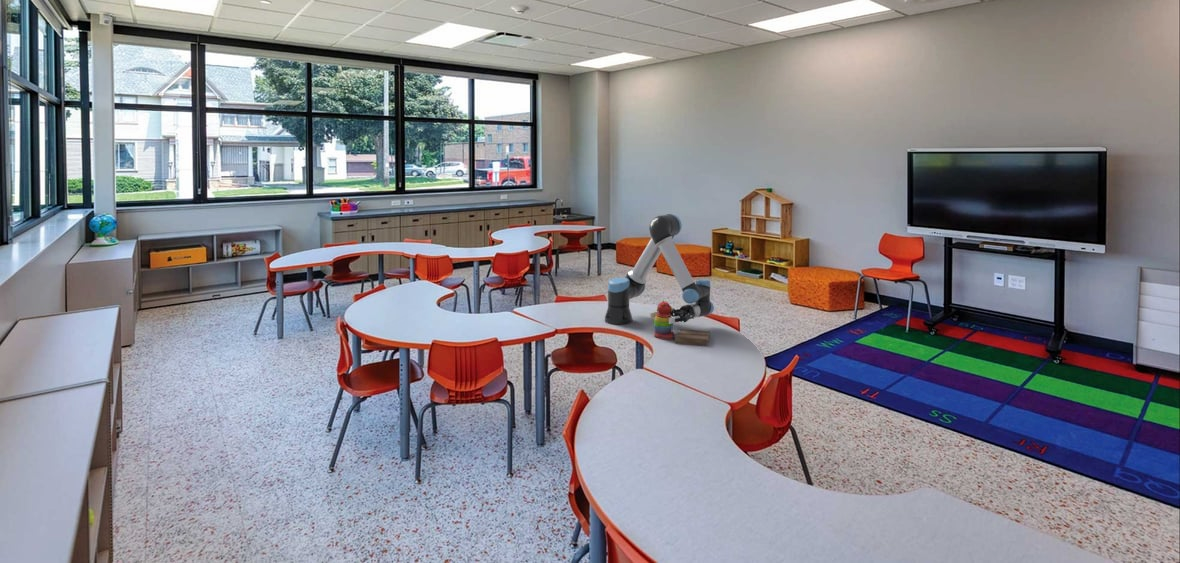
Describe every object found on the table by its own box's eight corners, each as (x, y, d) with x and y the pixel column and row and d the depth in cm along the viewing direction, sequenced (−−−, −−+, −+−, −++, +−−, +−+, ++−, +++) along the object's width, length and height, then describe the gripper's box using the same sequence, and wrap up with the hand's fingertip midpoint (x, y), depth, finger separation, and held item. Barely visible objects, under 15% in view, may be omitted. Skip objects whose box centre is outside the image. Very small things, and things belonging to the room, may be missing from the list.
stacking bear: (673, 340, 301) (674, 305, 297) (652, 338, 303) (653, 304, 299) (674, 333, 311) (675, 300, 308) (654, 332, 313) (655, 299, 310)
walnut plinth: (680, 334, 310) (680, 329, 309) (710, 337, 305) (710, 331, 305) (675, 343, 296) (675, 337, 295) (706, 345, 291) (707, 339, 291)
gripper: (707, 323, 307) (677, 331, 294) (672, 313, 326) (642, 320, 314) (708, 309, 305) (678, 315, 293) (672, 300, 325) (642, 306, 312)
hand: (659, 318), depth 303 cm, fingers open, 13 cm apart
